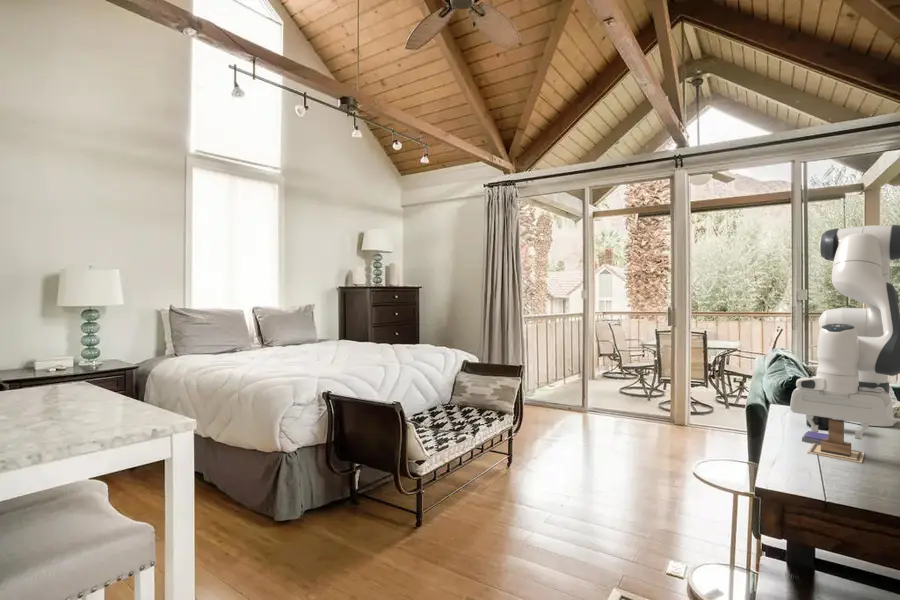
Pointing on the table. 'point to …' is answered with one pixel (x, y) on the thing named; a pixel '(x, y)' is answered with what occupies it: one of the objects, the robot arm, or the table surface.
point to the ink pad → (814, 437)
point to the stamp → (836, 439)
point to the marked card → (854, 457)
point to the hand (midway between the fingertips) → (836, 435)
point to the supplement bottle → (820, 422)
